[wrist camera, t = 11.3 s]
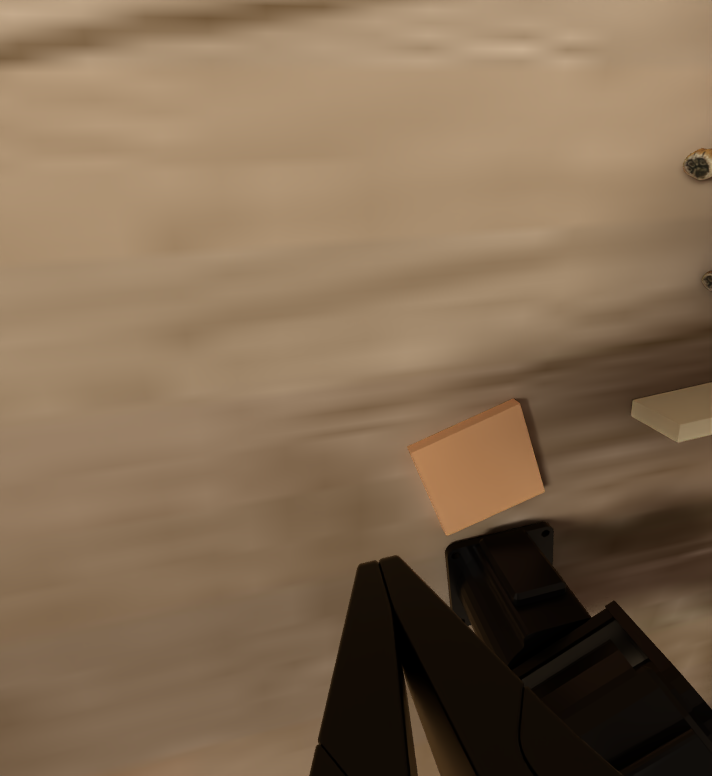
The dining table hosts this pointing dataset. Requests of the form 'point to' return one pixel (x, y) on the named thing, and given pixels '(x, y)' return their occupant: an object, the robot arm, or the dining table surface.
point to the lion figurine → (700, 168)
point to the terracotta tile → (478, 467)
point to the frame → (677, 412)
